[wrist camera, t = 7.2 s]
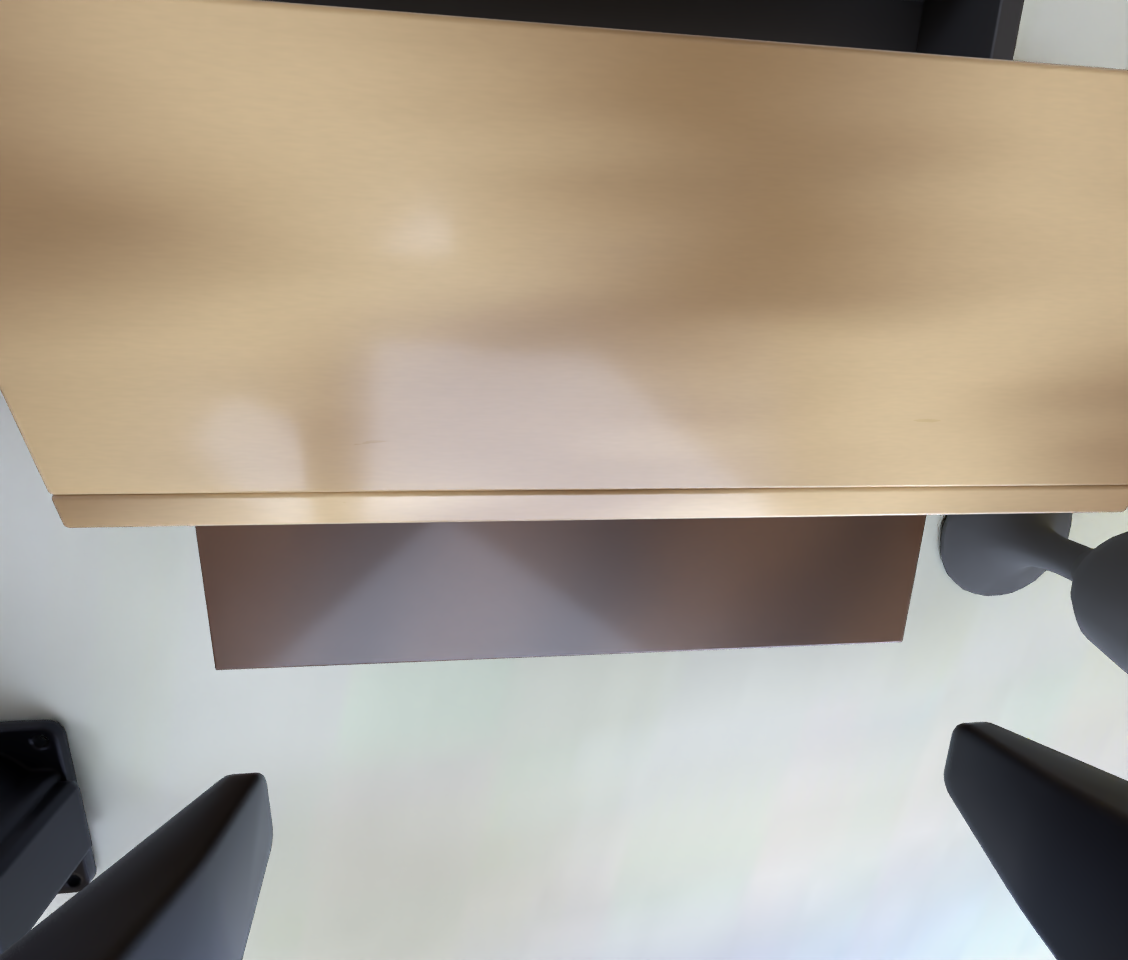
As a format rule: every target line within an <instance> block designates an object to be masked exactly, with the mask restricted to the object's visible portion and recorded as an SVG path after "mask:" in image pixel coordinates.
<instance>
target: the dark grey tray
mask: <svg viewBox="0 0 1128 960" xmlns="http://www.w3.org/2000/svg"><path fill="white" fill-rule="evenodd" d="M262 1H274V2H287V3H299V4H312V5H324V6H337V7H349V8H362V9H374V10H387V11H399V12H412V13H424V14H437V15H449V16H462V17H474V18H487V19H499V20H512V21H524V22H537V23H549V24H562V25H575V26H587V27H600V28H612V29H625V30H637V31H650V32H662V33H675V34H687V35H700V36H712V37H725V38H737V39H750V40H762V41H775V42H787V43H800V44H812V45H825V46H837V47H850V48H862V49H875V50H887V51H900V52H912V53H925V54H937V55H950V56H963V57H975V58H988V59H1000V60H1013V56H1014V51H1015V46H1016V41H1017V35H1018V30H1019V25H1020V20H1021V14H1022V9H1023V4H1024V0H262Z"/></svg>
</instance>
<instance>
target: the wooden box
mask: <svg viewBox="0 0 1128 960" xmlns="http://www.w3.org/2000/svg"><path fill="white" fill-rule="evenodd" d="M0 390H1V392H2V394H3V396H4V398H5V400H6V403H7V405H8V407H9V409H10V411H11V413H12V415H13V417H14V420H15V422H16V424H17V426H18V428H19V430H20V432H21V435H22V437H23V439H24V441H25V443H26V445H27V447H28V449H29V452H30V454H31V456H32V458H33V460H34V462H35V464H36V467H37V469H38V471H39V473H40V475H41V477H42V479H43V482H44V484H45V486H46V488H47V490H48V492H49V493H50V494H53V497H52V501H53V503H54V505H55V507H56V509H57V511H58V514H59V516H60V518H61V520H62V522H63V524H64V526H66V527H68V528H83V527H150V526H216V525H283V524H350V523H416V522H483V521H550V520H617V519H683V518H750V517H817V516H883V515H950V514H1017V513H1083V512H1123V511H1124V510H1126V508H1127V507H1128V70H1125V69H1113V68H1100V67H1088V66H1075V65H1063V64H1050V63H1038V62H1025V61H1013V60H1000V59H988V58H975V57H963V56H950V55H937V54H925V53H912V52H900V51H887V50H875V49H862V48H850V47H837V46H825V45H812V44H800V43H787V42H775V41H762V40H750V39H737V38H725V37H712V36H700V35H687V34H675V33H662V32H650V31H637V30H625V29H612V28H600V27H587V26H575V25H562V24H549V23H537V22H524V21H512V20H499V19H487V18H474V17H462V16H449V15H437V14H424V13H412V12H399V11H387V10H374V9H362V8H349V7H337V6H324V5H312V4H299V3H287V2H274V1H262V0H0Z"/></svg>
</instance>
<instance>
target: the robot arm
mask: <svg viewBox="0 0 1128 960" xmlns="http://www.w3.org/2000/svg"><path fill="white" fill-rule="evenodd" d="M41 735H44V736H45V737H47V738H48V740H46V739H44V738H43V737H42V736H41ZM944 781H945V786H946V788H947V791H948V793H949V795H950V797H951V798H952V800H953V801H954V803H955V805H956V806H957V808H958V810H959V811H960V813H961V814H962V816H963V818H964V819H965V821H966V822H967V824H968V826H969V827H970V829H971V831H972V832H973V834H974V835H975V837H976V839H977V840H978V842H979V844H980V845H981V847H982V848H983V850H984V852H985V853H986V855H987V856H988V858H989V860H990V861H991V863H992V865H993V866H994V868H995V869H996V871H997V873H998V874H999V876H1000V877H1001V879H1002V881H1003V882H1004V884H1005V886H1006V887H1007V889H1008V890H1009V892H1010V893H1011V895H1012V897H1013V898H1014V900H1015V901H1016V903H1017V904H1018V906H1019V907H1020V909H1021V910H1022V912H1023V913H1024V915H1025V916H1026V918H1027V919H1028V920H1029V922H1030V923H1031V925H1032V926H1033V928H1034V929H1035V930H1036V932H1037V933H1038V935H1039V936H1040V937H1041V939H1042V940H1043V941H1044V943H1045V944H1046V946H1047V947H1048V948H1049V950H1050V951H1051V952H1052V954H1053V955H1054V957H1055V958H1056V959H1057V960H1128V781H1126V780H1124V779H1122V778H1119V777H1117V776H1115V775H1112V774H1110V773H1107V772H1105V771H1103V770H1100V769H1098V768H1096V767H1093V766H1091V765H1089V764H1086V763H1084V762H1082V761H1079V760H1077V759H1075V758H1072V757H1070V756H1068V755H1065V754H1063V753H1061V752H1058V751H1056V750H1053V749H1051V748H1049V747H1046V746H1044V745H1042V744H1039V743H1037V742H1035V741H1032V740H1030V739H1028V738H1025V737H1023V736H1021V735H1018V734H1016V733H1014V732H1011V731H1009V730H1006V729H1004V728H1002V727H999V726H997V725H995V724H992V723H988V722H974V723H962V724H959V725H957V726H956V728H955V729H954V730H953V733H952V737H951V741H950V746H949V751H948V755H947V760H946V765H945V769H944ZM272 838H273V827H272V819H271V812H270V804H269V797H268V789H267V783H266V780H265V778H264V776H263V775H262V774H260V773H246V774H232V775H227V776H225V777H224V778H222V779H221V780H219V781H218V782H217V783H215V784H214V785H213V786H212V787H210V788H209V789H208V790H207V791H205V792H204V793H203V794H202V795H200V796H199V797H198V798H197V799H195V800H194V801H193V802H192V803H190V804H189V805H188V806H186V807H185V808H184V809H183V810H181V811H180V812H179V813H178V814H176V815H175V816H174V817H173V818H171V819H170V820H169V821H168V822H166V823H165V824H164V825H163V826H161V827H160V828H159V829H158V830H156V831H155V832H154V833H153V834H151V835H150V836H149V837H147V838H146V839H145V840H144V841H142V842H141V843H140V844H139V845H137V846H136V847H135V848H134V849H132V850H131V851H130V852H129V853H127V854H126V855H125V856H124V857H122V858H121V859H120V860H119V861H117V862H116V863H115V864H114V865H112V866H111V867H110V868H108V869H107V870H106V871H105V872H103V873H102V874H101V875H100V876H98V877H97V878H96V879H95V880H93V881H92V882H91V880H92V879H93V877H94V876H95V874H96V866H95V861H94V857H93V852H92V848H91V846H92V843H91V838H90V834H89V829H88V825H87V820H86V815H85V811H84V806H83V802H82V797H81V793H80V788H79V787H78V785H77V780H76V776H75V771H74V767H73V762H72V758H71V753H70V749H69V744H68V740H67V735H66V732H65V730H64V727H63V726H61V725H60V724H59V723H57V722H55V721H53V720H29V721H8V722H0V960H242V958H243V955H244V951H245V947H246V943H247V939H248V935H249V932H250V928H251V924H252V920H253V916H254V913H255V909H256V905H257V901H258V897H259V893H260V890H261V886H262V882H263V878H264V874H265V870H266V867H267V863H268V859H269V855H270V851H271V846H272ZM90 882H91V883H90ZM89 883H90V884H89ZM79 891H80V892H79ZM72 892H78V893H77V894H76V895H75V896H73V897H72V898H71V899H69V900H68V901H67V902H66V903H64V904H63V905H62V906H61V907H59V908H58V909H57V910H56V911H54V912H53V913H52V914H51V915H49V916H48V917H47V918H46V919H44V920H43V921H42V922H41V923H39V924H38V925H37V926H35V927H34V928H33V929H32V927H33V926H34V925H35V923H36V922H37V921H38V919H39V918H40V917H41V915H42V914H43V912H44V911H45V910H46V908H47V907H48V906H49V904H50V903H51V902H52V900H53V899H54V898H55V896H56V895H57V894H60V893H72ZM31 929H32V930H31Z"/></svg>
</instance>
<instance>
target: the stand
mask: <svg viewBox="0 0 1128 960" xmlns="http://www.w3.org/2000/svg"><path fill="white" fill-rule="evenodd" d="M925 520H926V515H883V516H817V517H750V518H683V519H617V520H550V521H483V522H416V523H350V524H283V525H216V526H195V528H196V535H197V542H198V549H199V556H200V563H201V570H202V577H203V584H204V591H205V598H206V605H207V612H208V619H209V626H210V633H211V640H212V647H213V654H214V661H215V668H216V670H229V669H253V668H277V667H302V666H326V665H351V664H375V663H400V662H424V661H448V660H473V659H497V658H522V657H546V656H571V655H595V654H619V653H644V652H668V651H693V650H717V649H742V648H766V647H790V646H815V645H839V644H864V643H888V642H902V641H903V635H904V630H905V625H906V620H907V614H908V609H909V604H910V599H911V593H912V588H913V583H914V578H915V572H916V567H917V562H918V557H919V551H920V546H921V541H922V536H923V530H924V525H925Z"/></svg>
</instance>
